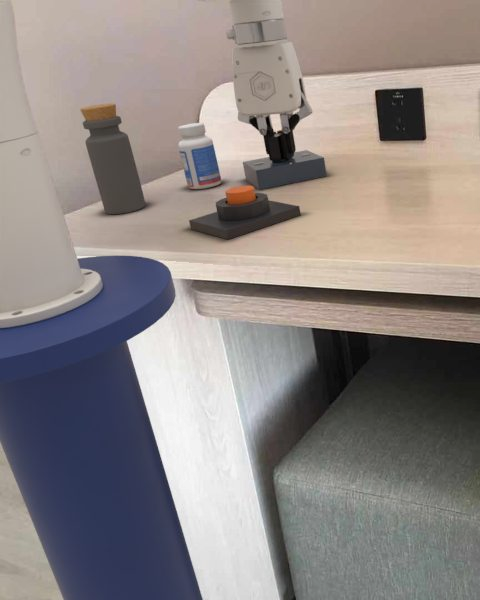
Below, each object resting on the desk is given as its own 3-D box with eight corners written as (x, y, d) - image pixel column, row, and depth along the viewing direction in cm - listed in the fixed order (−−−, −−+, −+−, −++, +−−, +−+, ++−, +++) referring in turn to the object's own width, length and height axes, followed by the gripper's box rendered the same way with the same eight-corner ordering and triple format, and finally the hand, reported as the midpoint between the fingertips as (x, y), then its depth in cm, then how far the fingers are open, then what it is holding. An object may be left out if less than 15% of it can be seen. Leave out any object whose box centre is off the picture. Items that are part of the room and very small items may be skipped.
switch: (237, 208, 84) (235, 194, 84) (222, 204, 87) (219, 191, 86) (261, 200, 87) (259, 187, 86) (246, 197, 89) (243, 184, 88)
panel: (259, 189, 104) (255, 169, 103) (245, 179, 112) (242, 160, 111) (327, 176, 108) (324, 156, 107) (309, 167, 116) (306, 148, 114)
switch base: (228, 239, 81) (222, 215, 80) (190, 229, 87) (185, 206, 86) (301, 215, 88) (297, 192, 87) (261, 206, 94) (257, 185, 93)
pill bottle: (227, 180, 113) (215, 120, 109) (213, 189, 108) (199, 126, 104) (197, 182, 114) (183, 123, 110) (182, 190, 109) (167, 129, 105)
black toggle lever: (281, 162, 106) (277, 135, 104) (272, 163, 107) (267, 135, 105) (292, 155, 111) (288, 129, 109) (283, 156, 111) (278, 130, 109)
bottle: (96, 215, 100) (66, 110, 94) (121, 203, 105) (94, 104, 99) (130, 214, 98) (101, 107, 92) (154, 202, 103) (128, 101, 97)
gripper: (201, 42, 100) (227, 166, 107) (303, 30, 96) (322, 160, 103) (223, 38, 106) (245, 156, 114) (318, 28, 103) (335, 150, 110)
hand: (282, 157), depth 108 cm, fingers closed on black toggle lever
